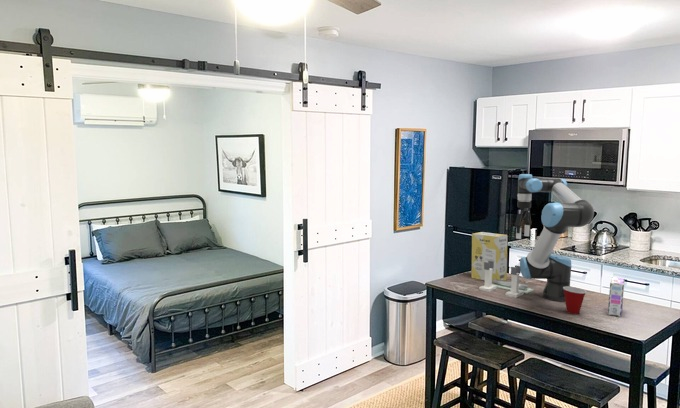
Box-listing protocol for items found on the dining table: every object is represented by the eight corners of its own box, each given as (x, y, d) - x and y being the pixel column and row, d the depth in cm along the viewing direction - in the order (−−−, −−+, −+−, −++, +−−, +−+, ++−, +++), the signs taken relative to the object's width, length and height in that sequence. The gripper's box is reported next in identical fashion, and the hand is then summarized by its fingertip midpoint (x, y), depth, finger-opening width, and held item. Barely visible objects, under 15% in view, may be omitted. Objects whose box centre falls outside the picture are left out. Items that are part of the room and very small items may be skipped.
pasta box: (506, 280, 308) (507, 234, 305) (497, 282, 301) (498, 236, 299) (481, 275, 321) (481, 232, 319) (471, 277, 315) (472, 233, 312)
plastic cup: (589, 316, 244) (591, 292, 243) (567, 315, 244) (568, 291, 243) (579, 309, 255) (581, 285, 253) (558, 308, 255) (559, 285, 254)
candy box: (621, 317, 243) (623, 284, 241) (607, 315, 246) (609, 282, 244) (622, 309, 254) (625, 278, 252) (609, 307, 257) (611, 276, 256)
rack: (523, 294, 280) (525, 266, 278) (515, 297, 273) (517, 269, 271) (487, 286, 295) (488, 259, 293) (478, 289, 288) (480, 262, 286)
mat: (534, 290, 288) (534, 289, 288) (526, 293, 281) (526, 292, 281) (498, 283, 303) (498, 282, 303) (490, 286, 296) (490, 285, 296)
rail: (528, 288, 287) (527, 284, 285) (526, 291, 285) (525, 287, 283) (495, 281, 300) (494, 277, 299) (493, 284, 298) (492, 280, 297)
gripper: (525, 199, 300) (523, 234, 302) (509, 201, 281) (508, 239, 283) (538, 200, 296) (536, 235, 297) (523, 202, 276) (521, 240, 278)
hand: (522, 237), depth 290 cm, fingers open, 13 cm apart
